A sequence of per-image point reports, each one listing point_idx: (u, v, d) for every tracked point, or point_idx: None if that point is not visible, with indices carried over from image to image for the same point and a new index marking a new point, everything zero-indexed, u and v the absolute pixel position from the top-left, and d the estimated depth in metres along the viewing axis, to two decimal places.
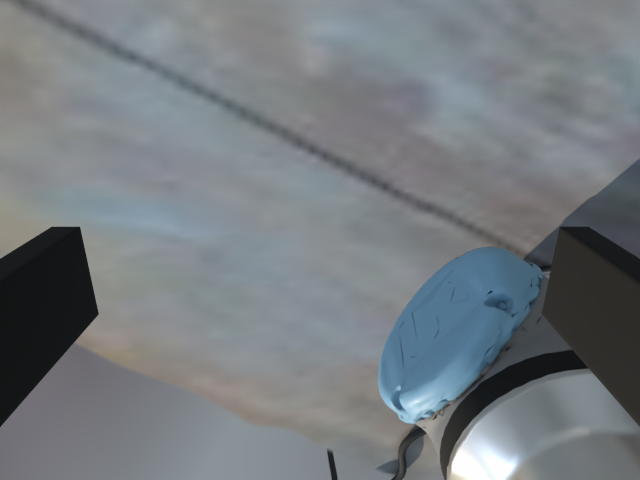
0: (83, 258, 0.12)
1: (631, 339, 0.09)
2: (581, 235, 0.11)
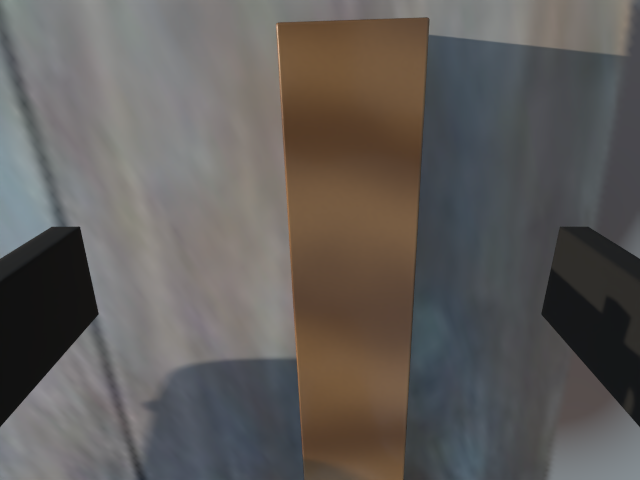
0: (83, 258, 0.12)
1: (631, 339, 0.09)
2: (581, 235, 0.11)
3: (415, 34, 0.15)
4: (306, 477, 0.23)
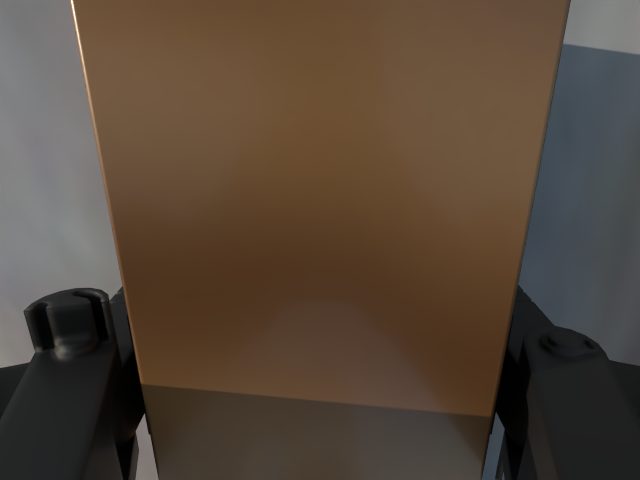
0: None
1: None
2: None
3: (528, 11, 0.05)
4: None
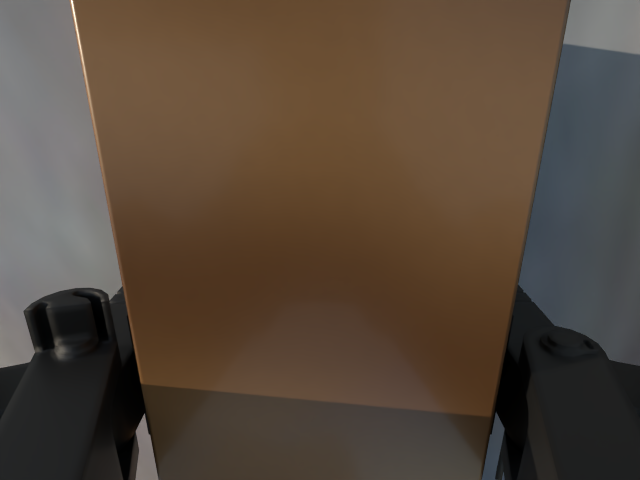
0: None
1: None
2: None
3: (528, 10, 0.05)
4: None
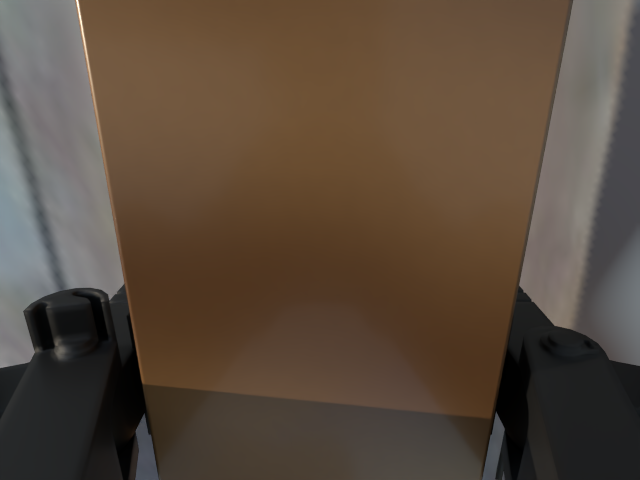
0: None
1: None
2: None
3: (530, 15, 0.05)
4: None
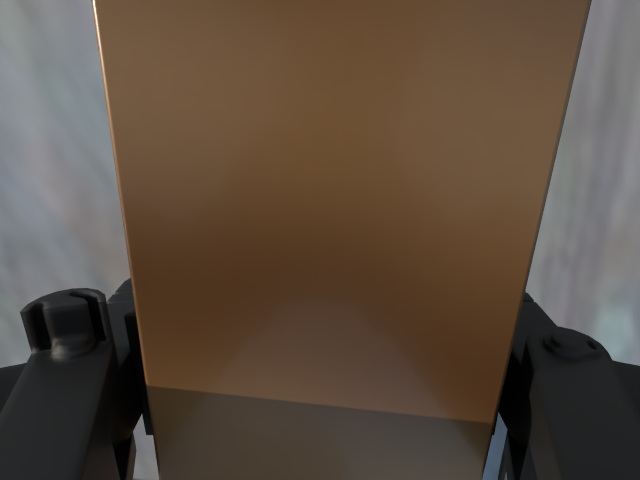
0: None
1: None
2: None
3: (545, 28, 0.05)
4: None
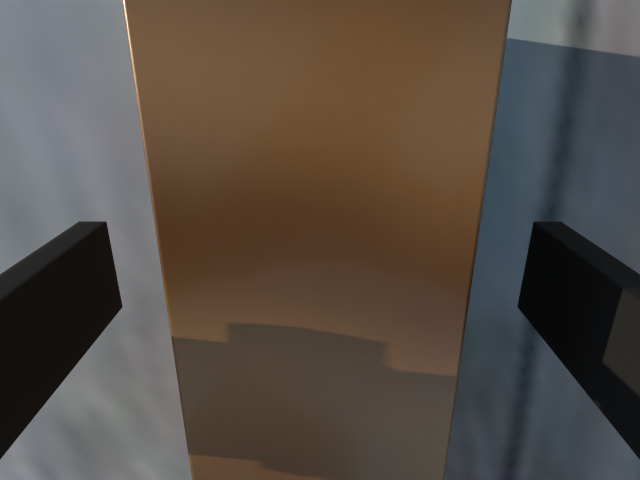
0: (109, 252, 0.12)
1: (594, 328, 0.10)
2: (553, 229, 0.12)
3: (478, 15, 0.06)
4: None
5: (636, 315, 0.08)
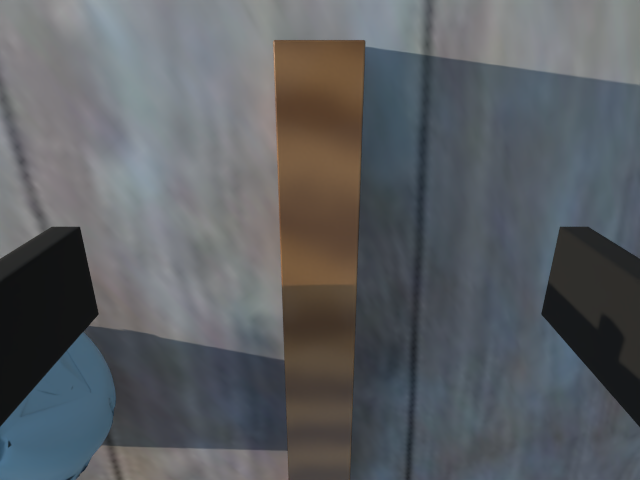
0: (83, 258, 0.12)
1: (631, 339, 0.09)
2: (581, 235, 0.11)
3: (357, 49, 0.26)
4: (285, 354, 0.33)
5: None
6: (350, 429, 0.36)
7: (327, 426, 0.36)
